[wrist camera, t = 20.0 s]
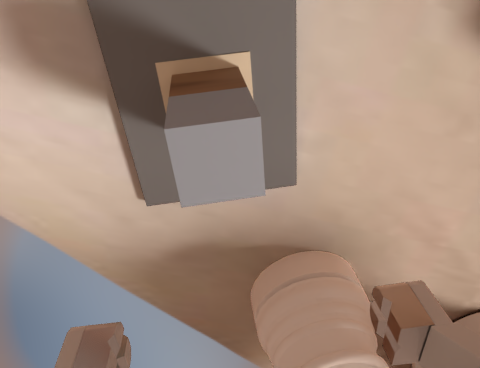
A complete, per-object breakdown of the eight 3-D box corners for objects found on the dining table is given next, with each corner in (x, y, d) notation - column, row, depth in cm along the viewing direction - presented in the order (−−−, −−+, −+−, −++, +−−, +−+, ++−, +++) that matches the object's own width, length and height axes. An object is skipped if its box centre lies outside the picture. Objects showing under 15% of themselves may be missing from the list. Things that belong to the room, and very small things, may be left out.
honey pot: (339, 233, 39) (435, 411, 24) (365, 300, 45) (453, 471, 30) (232, 278, 40) (258, 470, 25) (273, 336, 47) (313, 514, 32)
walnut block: (243, 127, 29) (252, 156, 25) (183, 135, 29) (182, 165, 25) (238, 66, 27) (247, 87, 23) (171, 74, 26) (168, 97, 22)
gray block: (252, 155, 25) (265, 195, 21) (182, 165, 25) (181, 207, 21) (247, 86, 23) (260, 116, 18) (168, 96, 22) (164, 129, 18)
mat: (294, 180, 34) (296, 185, 33) (147, 201, 33) (146, 206, 33) (293, -42, 24) (296, -42, 23) (84, -19, 23) (81, -18, 23)
